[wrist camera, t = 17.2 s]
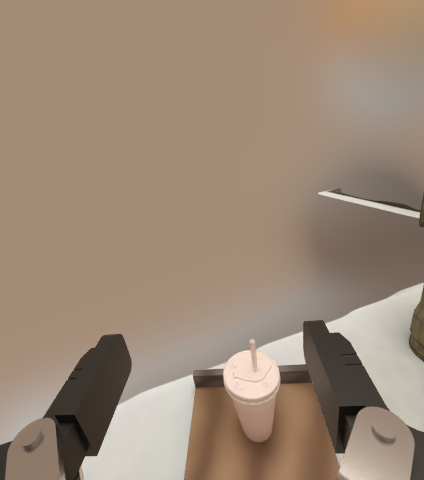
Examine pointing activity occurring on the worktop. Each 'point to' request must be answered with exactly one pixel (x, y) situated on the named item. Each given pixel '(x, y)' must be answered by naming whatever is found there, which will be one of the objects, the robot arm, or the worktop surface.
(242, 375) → the smoothie
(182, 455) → the worktop surface
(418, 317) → the thermos
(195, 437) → the shelf board
